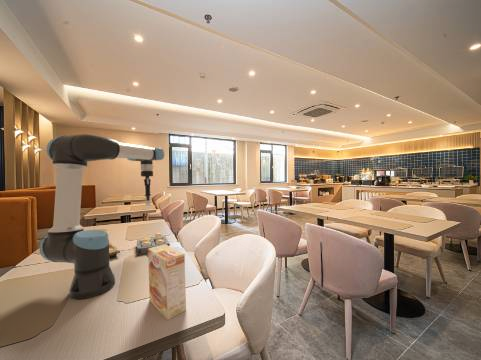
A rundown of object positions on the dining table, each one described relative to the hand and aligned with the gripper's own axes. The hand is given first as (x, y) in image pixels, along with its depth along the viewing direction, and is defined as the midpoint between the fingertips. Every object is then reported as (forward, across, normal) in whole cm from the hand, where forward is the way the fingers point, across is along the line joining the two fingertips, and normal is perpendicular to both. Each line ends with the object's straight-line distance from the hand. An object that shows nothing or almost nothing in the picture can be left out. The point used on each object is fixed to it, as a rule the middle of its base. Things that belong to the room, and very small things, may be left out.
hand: (148, 205), depth 138 cm
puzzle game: (+27, -8, +25) cm, 38 cm away
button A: (+26, -13, -6) cm, 29 cm away
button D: (+26, -5, +2) cm, 26 cm away
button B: (+26, -13, +2) cm, 29 cm away
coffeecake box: (+27, -76, -2) cm, 81 cm away
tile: (+27, -20, -2) cm, 33 cm away
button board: (+27, -9, -2) cm, 28 cm away
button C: (+23, -5, -6) cm, 25 cm away
